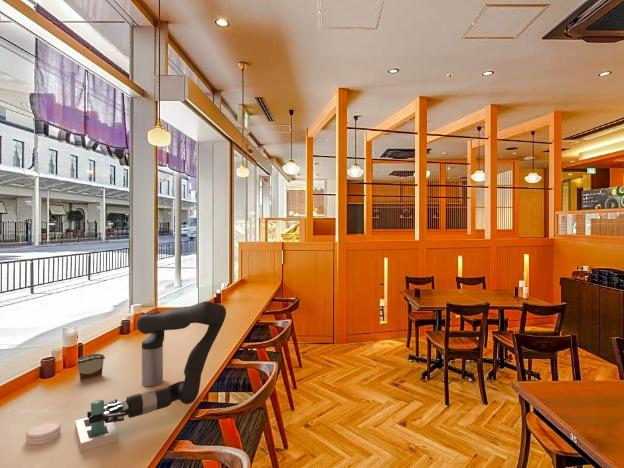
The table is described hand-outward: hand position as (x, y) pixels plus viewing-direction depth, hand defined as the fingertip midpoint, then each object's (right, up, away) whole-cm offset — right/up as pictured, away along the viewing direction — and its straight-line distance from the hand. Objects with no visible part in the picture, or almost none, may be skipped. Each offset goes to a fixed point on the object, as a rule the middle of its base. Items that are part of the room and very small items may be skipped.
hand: (88, 417), depth 130 cm
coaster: (-18, -9, +4) cm, 21 cm away
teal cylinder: (+2, -6, +2) cm, 7 cm away
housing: (-1, -9, +5) cm, 10 cm away
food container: (-33, -7, +57) cm, 67 cm away
